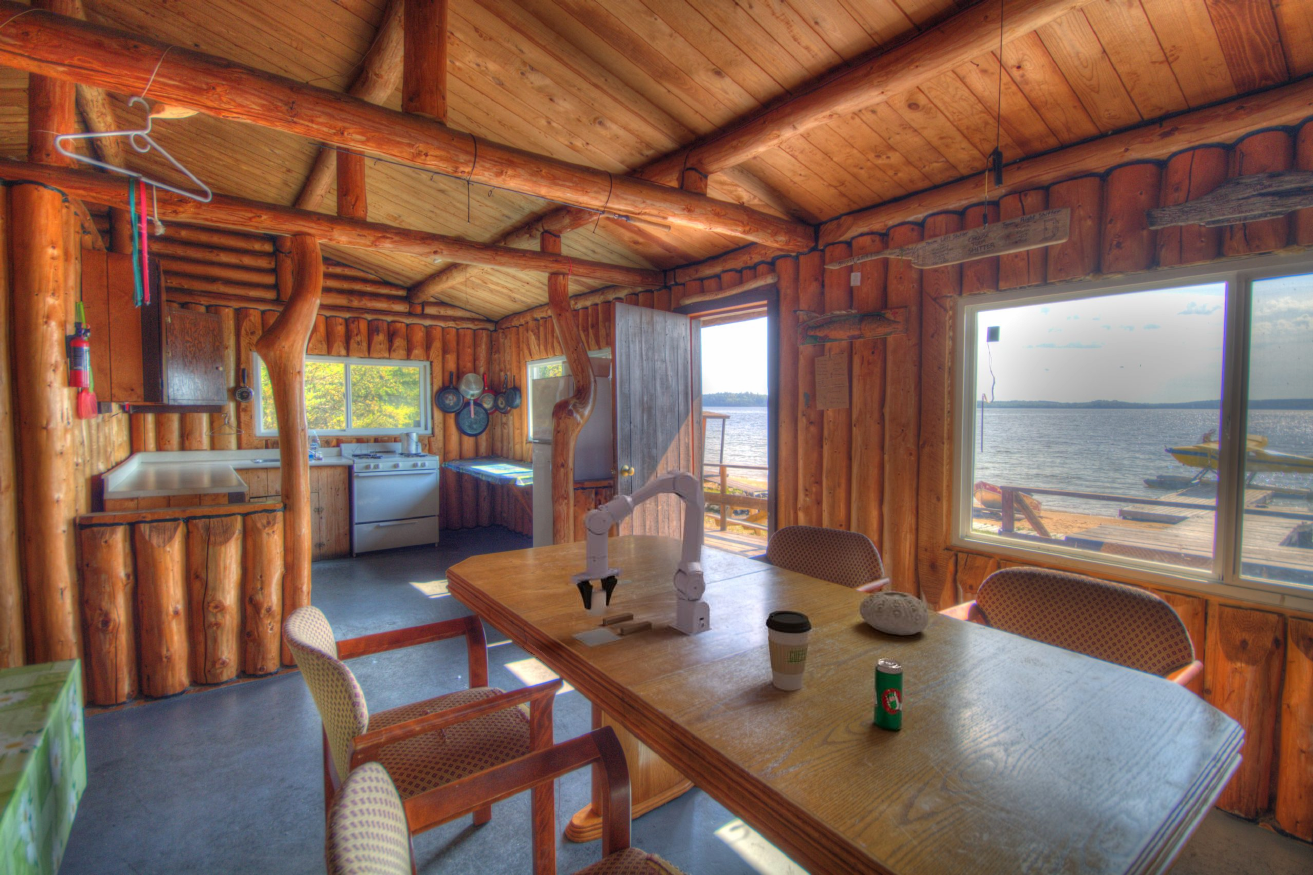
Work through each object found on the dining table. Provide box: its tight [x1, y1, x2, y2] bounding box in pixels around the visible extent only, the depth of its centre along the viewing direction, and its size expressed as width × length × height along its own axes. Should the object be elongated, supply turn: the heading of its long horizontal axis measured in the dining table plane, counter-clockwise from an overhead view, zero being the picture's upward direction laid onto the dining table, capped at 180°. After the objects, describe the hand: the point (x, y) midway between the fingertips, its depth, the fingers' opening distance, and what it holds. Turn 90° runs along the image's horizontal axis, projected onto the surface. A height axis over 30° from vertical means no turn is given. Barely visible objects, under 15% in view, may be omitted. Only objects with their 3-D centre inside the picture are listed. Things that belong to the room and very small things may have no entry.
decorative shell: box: [859, 590, 930, 636], centre depth 166 cm, size 18×18×10 cm
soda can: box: [873, 658, 904, 732], centre depth 113 cm, size 5×5×12 cm
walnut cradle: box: [602, 612, 653, 637], centre depth 165 cm, size 11×9×2 cm
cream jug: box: [586, 587, 607, 618], centre depth 158 cm, size 7×5×6 cm
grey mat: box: [570, 627, 623, 648], centre depth 157 cm, size 10×10×1 cm
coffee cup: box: [765, 610, 812, 692], centre depth 130 cm, size 10×10×15 cm
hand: (596, 606), depth 157 cm, fingers closed on cream jug, 5 cm apart
